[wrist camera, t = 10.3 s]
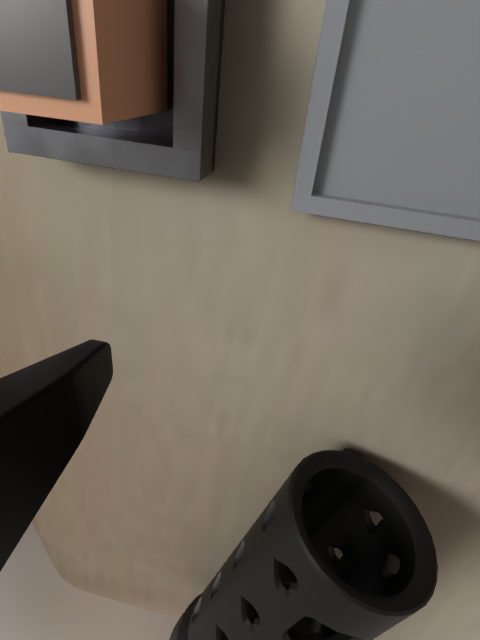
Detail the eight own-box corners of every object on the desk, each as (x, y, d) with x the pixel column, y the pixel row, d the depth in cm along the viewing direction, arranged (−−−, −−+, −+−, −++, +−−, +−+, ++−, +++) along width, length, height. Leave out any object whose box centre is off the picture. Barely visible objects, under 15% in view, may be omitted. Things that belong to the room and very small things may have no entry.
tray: (709, -97, 12) (742, -112, 11) (532, 241, 18) (544, 251, 17) (348, -121, 14) (349, -137, 13) (292, 203, 19) (290, 210, 18)
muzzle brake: (423, 469, 27) (465, 655, 18) (265, 618, 42) (248, 759, 34) (292, 414, 27) (273, 577, 18) (181, 584, 42) (142, 717, 33)
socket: (230, -89, 15) (213, -117, 12) (214, 169, 19) (199, 181, 17) (3, -107, 16) (-48, -135, 13) (42, 143, 20) (8, 151, 18)
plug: (167, -20, 16) (81, -69, 10) (167, 110, 18) (98, 125, 13) (59, -30, 16) (-75, -81, 11) (73, 98, 18) (-31, 108, 13)
